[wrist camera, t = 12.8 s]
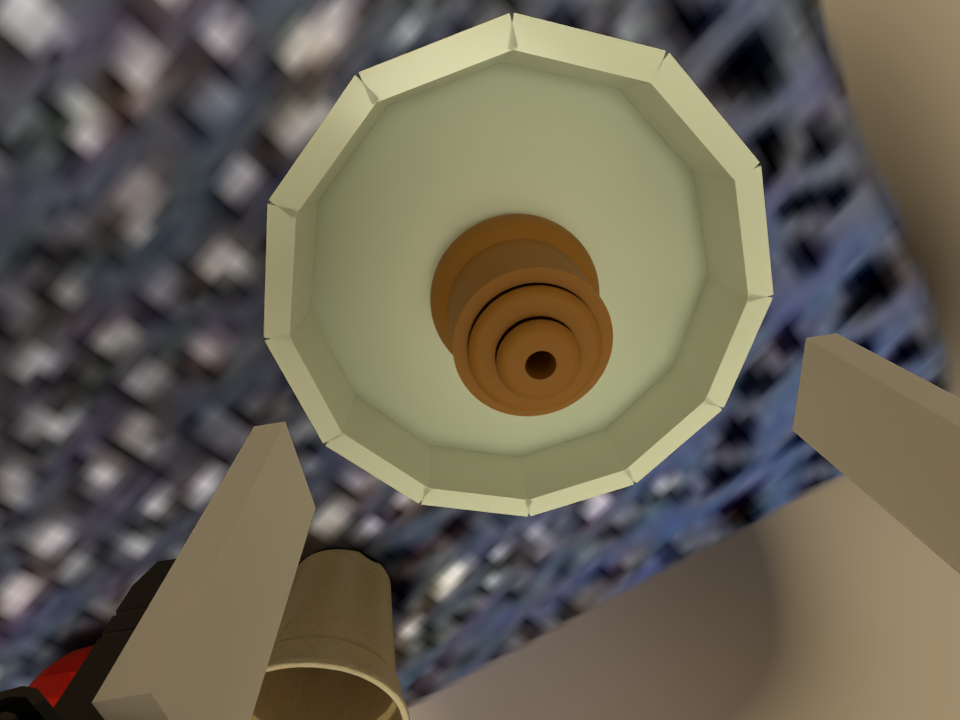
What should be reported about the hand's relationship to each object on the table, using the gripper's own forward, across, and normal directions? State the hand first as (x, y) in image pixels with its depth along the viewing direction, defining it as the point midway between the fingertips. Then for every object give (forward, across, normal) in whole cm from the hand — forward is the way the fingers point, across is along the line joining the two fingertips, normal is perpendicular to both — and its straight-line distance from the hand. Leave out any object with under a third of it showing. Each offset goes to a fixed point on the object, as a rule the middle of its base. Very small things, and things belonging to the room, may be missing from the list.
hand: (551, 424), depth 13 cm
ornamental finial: (+12, +1, 0) cm, 12 cm away
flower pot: (+13, -12, -18) cm, 25 cm away
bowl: (+13, +1, 0) cm, 13 cm away
